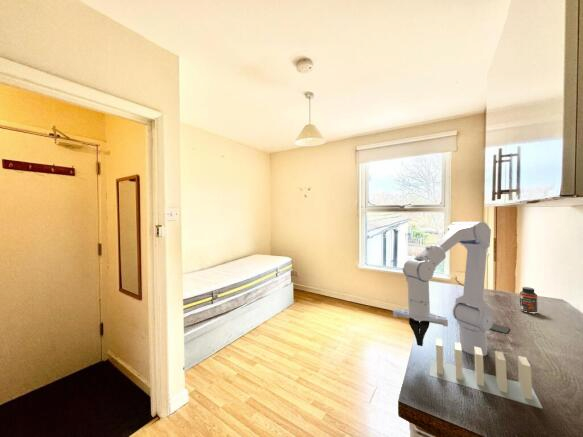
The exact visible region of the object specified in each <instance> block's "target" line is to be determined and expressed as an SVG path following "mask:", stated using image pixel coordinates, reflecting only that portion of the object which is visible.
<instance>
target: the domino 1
mask: <svg viewBox="0 0 583 437" xmlns="http://www.w3.org/2000/svg"><path fill="white" fill-rule="evenodd" d="M454 357H455V365H454V366H456V379H460V380H463V370H462V368H463V350H462V348H461V343H458V342H455V341H454Z"/></svg>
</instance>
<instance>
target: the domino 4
mask: <svg viewBox="0 0 583 437" xmlns="http://www.w3.org/2000/svg"><path fill="white" fill-rule="evenodd" d="M517 368H518V369H517V370H518V372H517V373H518V382H519V388H520V390H521V393H522V395H523V397H524V398H527V399H530V400H532V388H533V384H532V383H533V382H532V366H531V364H530V362H529V361H528V359H527V357H525V356H521V355H517Z"/></svg>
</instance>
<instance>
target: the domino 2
mask: <svg viewBox="0 0 583 437" xmlns="http://www.w3.org/2000/svg"><path fill="white" fill-rule="evenodd" d="M473 356H474V371H475V377H476V382H477V385H481V386H484V373H485V372H484V356H483V354H482V350H481V348H479V347H475V346H474V355H473Z"/></svg>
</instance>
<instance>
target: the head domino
mask: <svg viewBox="0 0 583 437" xmlns="http://www.w3.org/2000/svg"><path fill="white" fill-rule="evenodd" d="M443 347H444V346H443V339H441V338H436V341H435V350H436V351H435V353H436V355H435V356H436V361H437V373H438V374H442V375H443V363H444V348H443Z"/></svg>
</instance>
